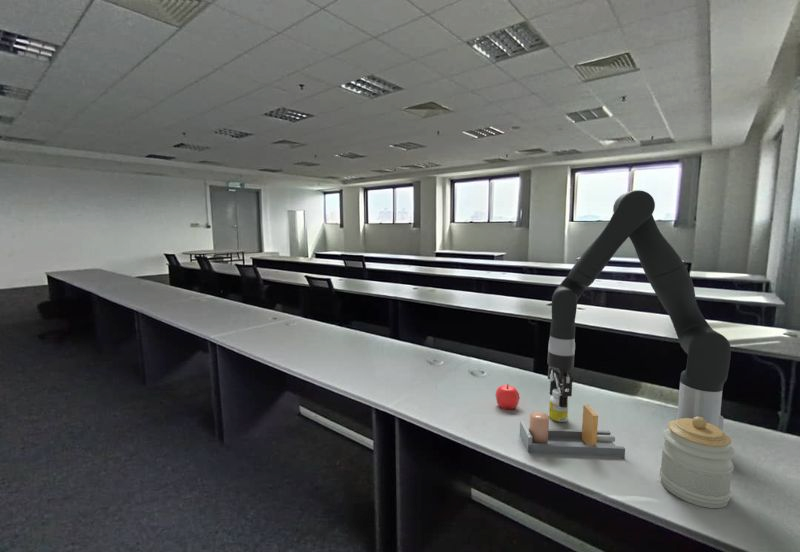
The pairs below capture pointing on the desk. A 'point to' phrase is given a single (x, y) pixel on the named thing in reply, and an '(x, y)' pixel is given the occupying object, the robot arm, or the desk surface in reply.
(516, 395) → the apple
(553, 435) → the tray
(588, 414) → the pusher plate
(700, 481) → the jar
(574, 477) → the desk surface
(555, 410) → the supplement bottle
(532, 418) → the terracotta jar
